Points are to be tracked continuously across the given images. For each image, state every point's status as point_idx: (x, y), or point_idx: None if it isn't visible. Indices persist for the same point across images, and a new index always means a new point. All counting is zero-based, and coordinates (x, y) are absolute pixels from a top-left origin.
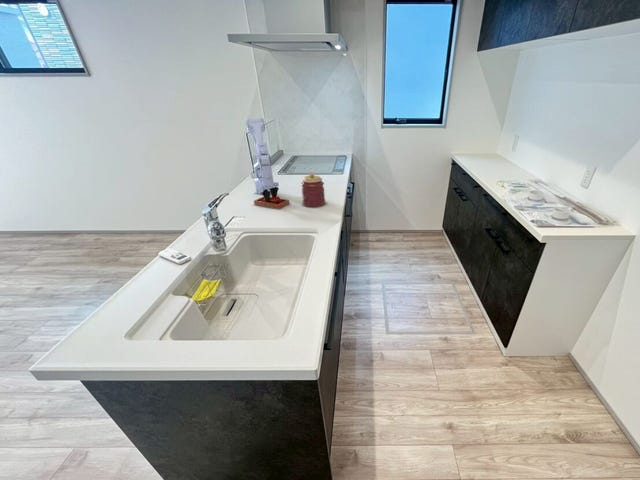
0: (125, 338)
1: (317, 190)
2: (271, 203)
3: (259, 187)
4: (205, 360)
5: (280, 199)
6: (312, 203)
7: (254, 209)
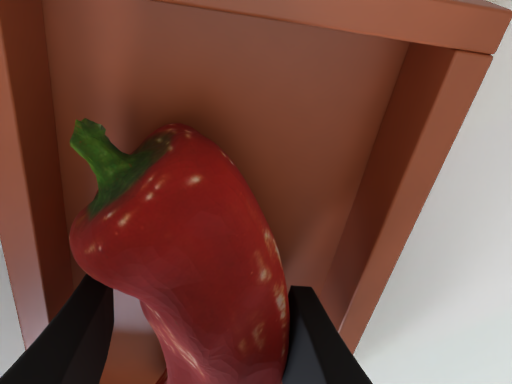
0: None
1: None
2: (399, 232)
3: None
4: None
5: (121, 167)
6: None
7: (468, 340)
